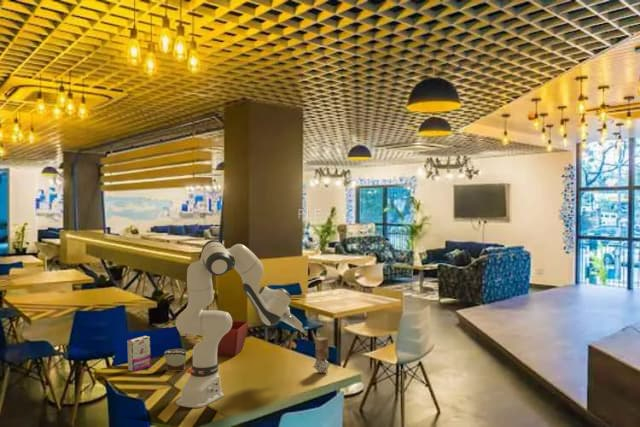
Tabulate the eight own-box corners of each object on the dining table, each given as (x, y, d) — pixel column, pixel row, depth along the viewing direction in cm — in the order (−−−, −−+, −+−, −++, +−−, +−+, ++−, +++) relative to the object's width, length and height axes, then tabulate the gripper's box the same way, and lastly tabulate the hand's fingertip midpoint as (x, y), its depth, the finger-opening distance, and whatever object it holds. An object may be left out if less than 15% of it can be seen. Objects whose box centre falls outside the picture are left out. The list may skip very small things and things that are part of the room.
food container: (190, 367, 274) (190, 348, 273) (186, 370, 267) (186, 352, 267) (168, 366, 275) (168, 348, 274) (164, 370, 269) (164, 351, 268)
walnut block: (319, 359, 259) (319, 340, 258) (315, 357, 263) (315, 337, 263) (328, 358, 261) (328, 339, 260) (324, 355, 265) (324, 336, 265)
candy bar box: (145, 364, 278) (145, 335, 278) (151, 366, 275) (150, 336, 275) (127, 370, 269) (126, 339, 269) (132, 372, 266) (132, 341, 266)
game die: (325, 380, 261) (330, 368, 255) (309, 375, 261) (315, 362, 256) (328, 367, 268) (333, 355, 263) (313, 361, 269) (318, 349, 263)
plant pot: (237, 358, 287) (237, 329, 287) (206, 357, 291) (205, 328, 290) (249, 349, 306) (248, 321, 305) (219, 347, 310) (219, 320, 309)
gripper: (293, 310, 244) (311, 328, 249) (277, 303, 263) (295, 320, 267) (284, 320, 242) (303, 338, 247) (269, 312, 261) (287, 329, 265)
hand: (299, 328), depth 257 cm, fingers open, 8 cm apart
